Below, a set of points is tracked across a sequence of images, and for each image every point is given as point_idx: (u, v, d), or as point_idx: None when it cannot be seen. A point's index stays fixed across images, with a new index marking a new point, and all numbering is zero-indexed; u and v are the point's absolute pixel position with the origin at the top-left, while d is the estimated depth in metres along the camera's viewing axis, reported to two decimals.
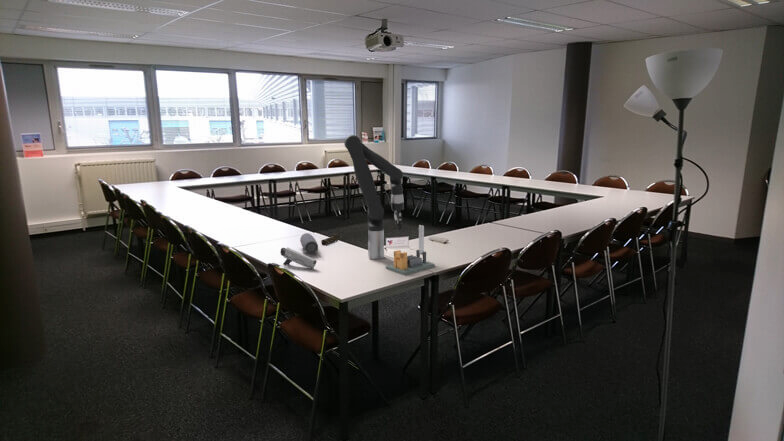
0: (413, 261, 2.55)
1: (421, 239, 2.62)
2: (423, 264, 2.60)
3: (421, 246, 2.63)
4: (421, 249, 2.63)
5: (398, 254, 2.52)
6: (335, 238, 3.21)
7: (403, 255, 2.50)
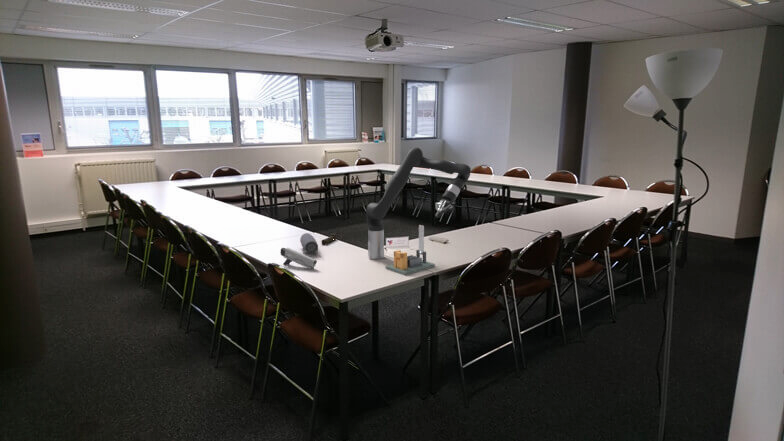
0: (413, 261, 2.55)
1: (421, 239, 2.62)
2: (423, 264, 2.60)
3: (421, 246, 2.63)
4: (421, 249, 2.63)
5: (398, 254, 2.52)
6: (334, 238, 3.22)
7: (403, 255, 2.50)
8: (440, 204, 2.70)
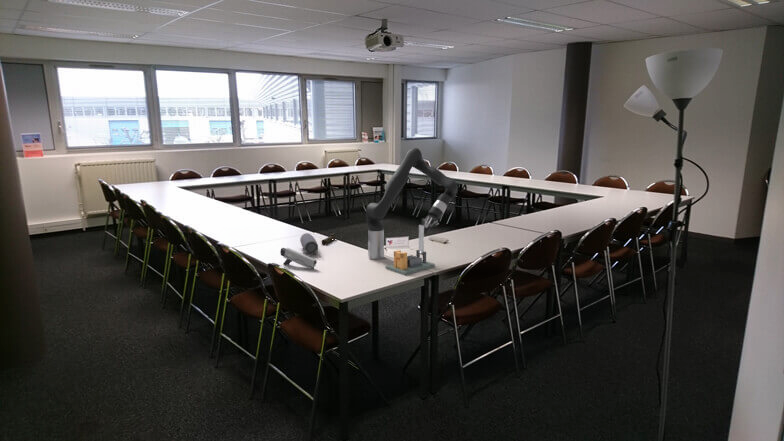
0: (413, 261, 2.55)
1: (421, 239, 2.62)
2: (423, 264, 2.60)
3: (421, 246, 2.63)
4: (421, 249, 2.63)
5: (398, 254, 2.52)
6: (333, 238, 3.22)
7: (403, 255, 2.50)
8: (426, 220, 2.65)
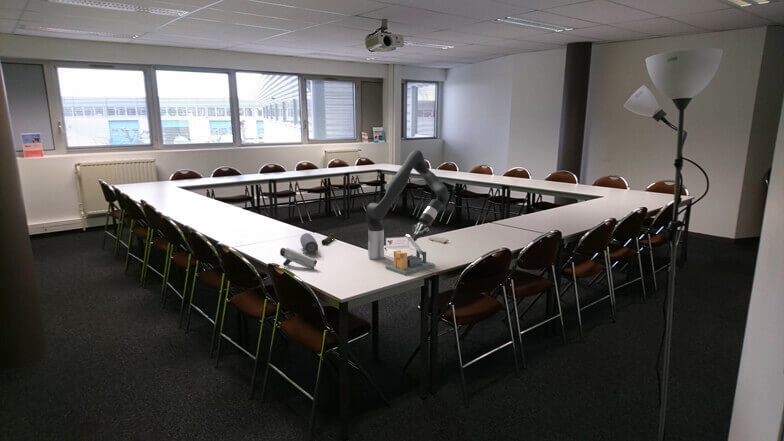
0: (413, 261, 2.55)
1: (414, 245, 2.59)
2: (423, 264, 2.60)
3: (418, 249, 2.61)
4: (419, 251, 2.62)
5: (398, 254, 2.52)
6: (332, 238, 3.22)
7: (403, 255, 2.50)
8: (417, 227, 2.60)
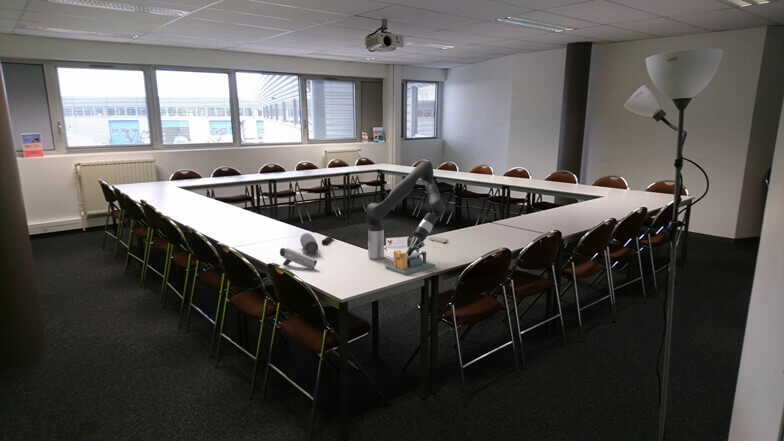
0: (413, 261, 2.55)
1: None
2: (423, 264, 2.60)
3: None
4: None
5: (398, 254, 2.52)
6: (331, 238, 3.23)
7: (403, 255, 2.50)
8: (412, 241, 2.60)
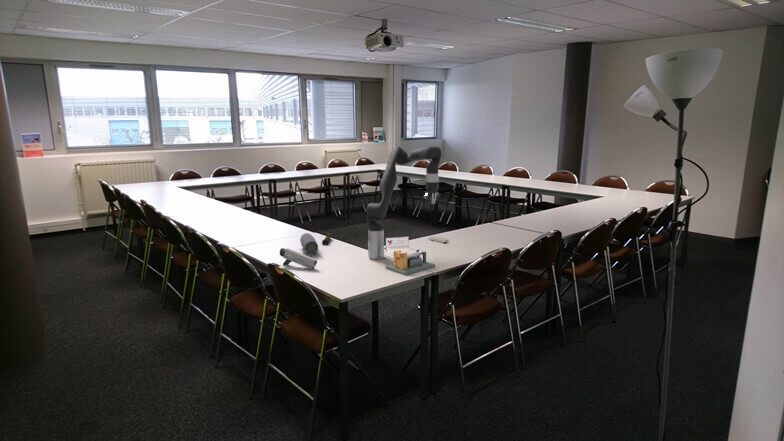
0: (413, 261, 2.55)
1: None
2: (423, 264, 2.60)
3: None
4: None
5: (398, 254, 2.52)
6: (330, 237, 3.23)
7: (403, 255, 2.50)
8: None
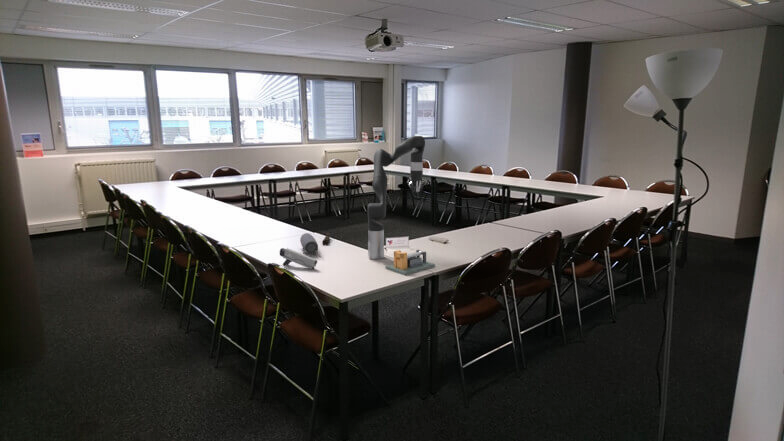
0: (413, 261, 2.55)
1: None
2: (423, 264, 2.60)
3: None
4: None
5: (398, 254, 2.52)
6: (329, 237, 3.23)
7: (403, 255, 2.50)
8: None
